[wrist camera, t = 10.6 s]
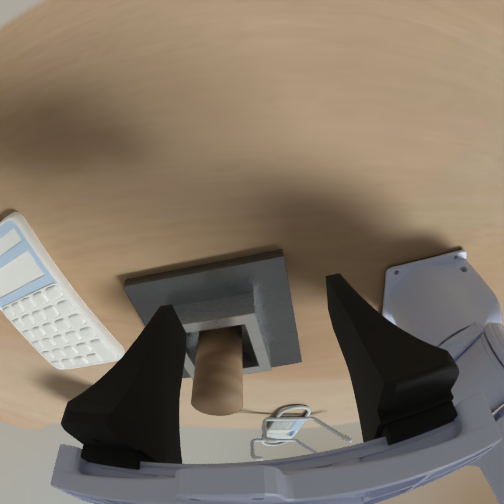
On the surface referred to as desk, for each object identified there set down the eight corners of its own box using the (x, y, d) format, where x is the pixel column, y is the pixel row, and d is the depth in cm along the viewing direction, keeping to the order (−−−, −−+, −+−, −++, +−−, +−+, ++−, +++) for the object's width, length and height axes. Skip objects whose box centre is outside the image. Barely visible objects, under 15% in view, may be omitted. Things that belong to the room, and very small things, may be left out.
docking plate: (282, 249, 25) (287, 275, 22) (300, 354, 32) (305, 380, 29) (126, 279, 26) (114, 306, 23) (180, 371, 33) (177, 396, 30)
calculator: (61, 362, 34) (56, 373, 32) (-31, 250, 24) (-40, 259, 22) (129, 349, 32) (126, 362, 30) (21, 203, 22) (10, 213, 20)
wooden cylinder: (236, 312, 27) (236, 389, 20) (246, 341, 29) (248, 413, 22) (193, 319, 27) (183, 394, 20) (206, 346, 29) (201, 416, 22)
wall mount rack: (266, 401, 38) (269, 438, 33) (354, 401, 40) (362, 434, 35) (246, 441, 46) (247, 469, 41) (317, 440, 48) (322, 467, 43)
